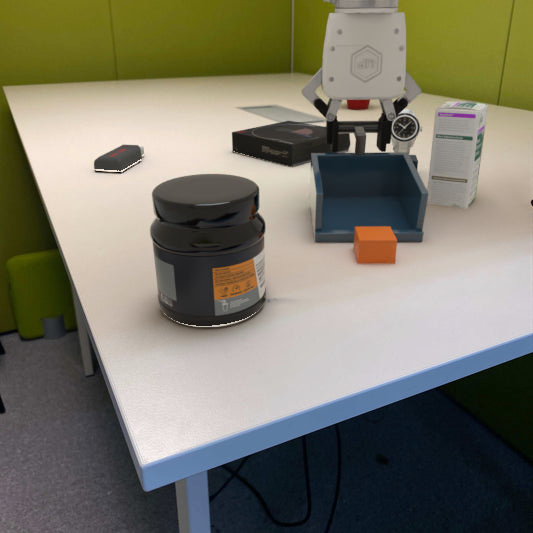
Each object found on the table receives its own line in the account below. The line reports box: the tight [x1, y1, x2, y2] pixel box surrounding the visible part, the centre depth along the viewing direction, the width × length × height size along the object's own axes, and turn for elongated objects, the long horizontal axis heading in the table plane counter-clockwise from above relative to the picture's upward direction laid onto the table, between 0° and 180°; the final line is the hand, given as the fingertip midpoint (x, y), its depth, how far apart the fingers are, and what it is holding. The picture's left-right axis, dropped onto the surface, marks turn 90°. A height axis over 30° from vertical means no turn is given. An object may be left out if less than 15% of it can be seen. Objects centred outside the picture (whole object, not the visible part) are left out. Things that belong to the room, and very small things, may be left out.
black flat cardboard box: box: [231, 120, 351, 167], centre depth 110 cm, size 16×17×4 cm
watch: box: [391, 108, 423, 171], centre depth 91 cm, size 6×8×11 cm
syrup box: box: [427, 100, 489, 210], centre depth 75 cm, size 6×6×14 cm
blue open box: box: [309, 120, 428, 243], centre depth 69 cm, size 17×13×10 cm
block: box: [352, 226, 398, 265], centre depth 61 cm, size 4×4×4 cm
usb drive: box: [93, 144, 145, 171], centre depth 102 cm, size 5×12×3 cm, turn 167°
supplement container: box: [149, 173, 267, 326], centre depth 51 cm, size 10×10×12 cm
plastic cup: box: [346, 100, 371, 111], centre depth 153 cm, size 11×11×12 cm
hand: (357, 148), depth 73 cm, fingers closed on blue open box, 5 cm apart
